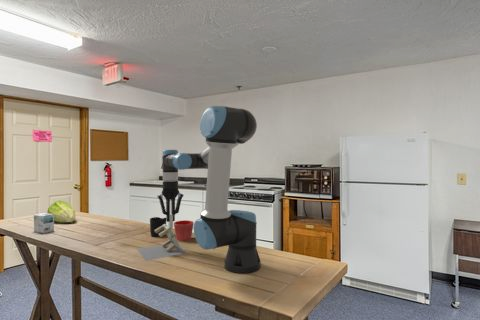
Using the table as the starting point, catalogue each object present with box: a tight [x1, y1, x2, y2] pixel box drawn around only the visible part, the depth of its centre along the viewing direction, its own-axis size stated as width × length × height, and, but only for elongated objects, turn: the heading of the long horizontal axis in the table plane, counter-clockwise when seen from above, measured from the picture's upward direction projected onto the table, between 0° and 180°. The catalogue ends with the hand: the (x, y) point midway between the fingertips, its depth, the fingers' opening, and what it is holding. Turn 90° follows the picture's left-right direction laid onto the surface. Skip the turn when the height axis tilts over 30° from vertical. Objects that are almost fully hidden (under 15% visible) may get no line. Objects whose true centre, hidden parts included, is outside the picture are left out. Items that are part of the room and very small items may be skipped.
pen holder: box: [149, 216, 167, 238], centre depth 175 cm, size 9×9×10 cm
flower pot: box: [173, 219, 195, 242], centre depth 165 cm, size 11×11×10 cm
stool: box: [154, 223, 180, 252], centre depth 146 cm, size 10×6×10 cm, turn 29°
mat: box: [136, 243, 189, 261], centre depth 144 cm, size 20×20×1 cm
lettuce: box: [46, 200, 76, 224], centre depth 213 cm, size 15×24×16 cm
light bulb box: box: [33, 212, 55, 234], centre depth 185 cm, size 11×7×11 cm, turn 63°
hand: (170, 228), depth 147 cm, fingers closed
